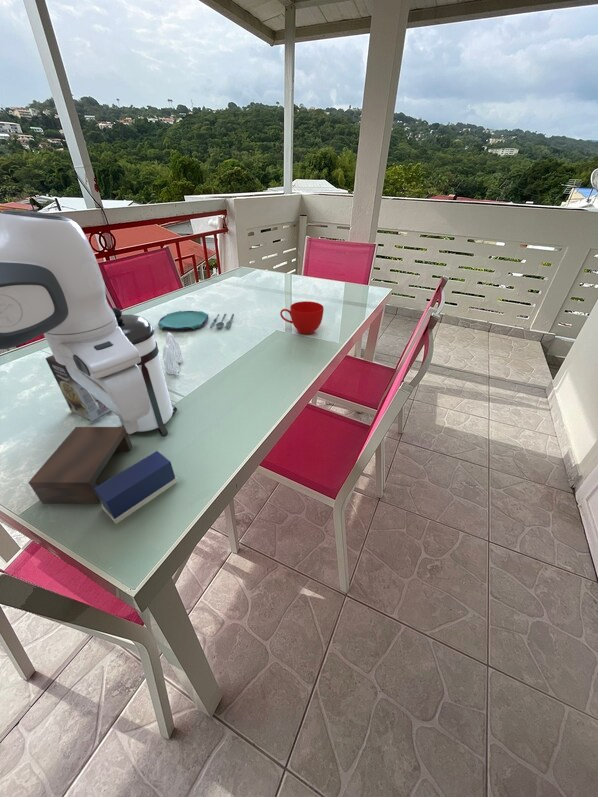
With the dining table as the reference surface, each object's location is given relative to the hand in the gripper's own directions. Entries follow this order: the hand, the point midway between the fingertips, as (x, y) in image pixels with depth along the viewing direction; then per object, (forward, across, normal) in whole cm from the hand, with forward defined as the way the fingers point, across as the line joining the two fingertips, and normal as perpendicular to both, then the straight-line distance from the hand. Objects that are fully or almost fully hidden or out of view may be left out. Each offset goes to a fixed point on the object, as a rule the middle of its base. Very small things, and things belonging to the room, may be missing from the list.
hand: (117, 418), depth 54 cm
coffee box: (+20, -37, +5) cm, 43 cm away
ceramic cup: (+20, -29, +83) cm, 90 cm away
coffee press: (+20, -22, +13) cm, 32 cm away
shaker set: (+20, -41, +33) cm, 57 cm away
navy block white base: (+20, -1, -1) cm, 20 cm away
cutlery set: (+20, -67, +60) cm, 92 cm away
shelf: (+20, -15, -4) cm, 25 cm away
